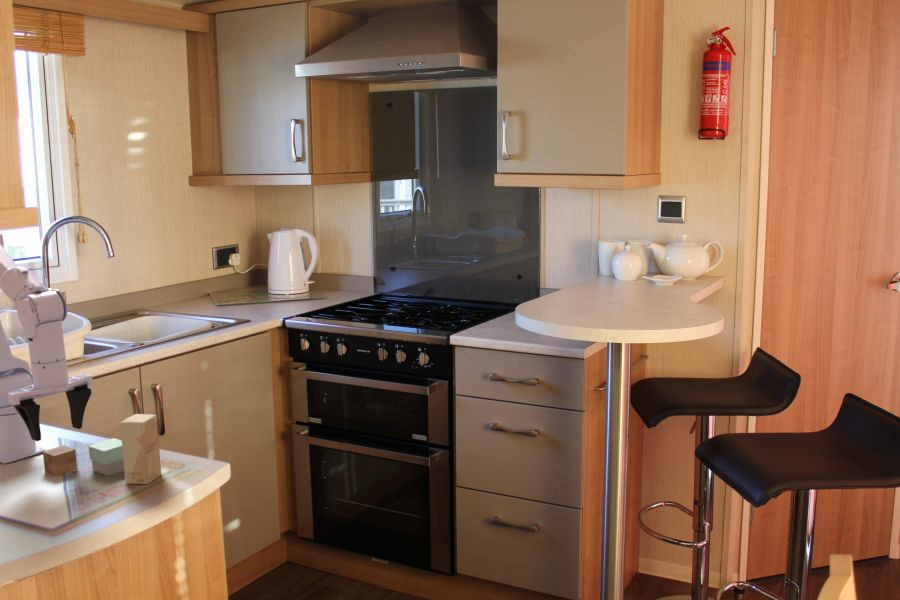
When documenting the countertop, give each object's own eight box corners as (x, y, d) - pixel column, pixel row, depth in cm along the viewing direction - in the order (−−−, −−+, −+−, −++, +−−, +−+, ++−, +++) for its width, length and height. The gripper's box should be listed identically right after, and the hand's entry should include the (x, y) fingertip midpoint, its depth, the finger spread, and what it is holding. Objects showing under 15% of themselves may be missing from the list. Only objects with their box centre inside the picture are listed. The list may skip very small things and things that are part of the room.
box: (147, 485, 153) (141, 423, 151) (124, 483, 154) (118, 422, 152) (162, 473, 158) (157, 413, 156) (140, 472, 159) (134, 412, 157)
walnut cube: (45, 472, 161) (42, 451, 160) (66, 466, 164) (63, 445, 163) (56, 477, 158) (53, 456, 157) (77, 470, 161) (75, 449, 160)
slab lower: (93, 472, 161) (91, 458, 160) (118, 463, 165) (116, 450, 164) (108, 478, 158) (106, 464, 157) (133, 469, 162) (132, 456, 161)
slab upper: (89, 459, 160) (88, 446, 160) (115, 450, 164) (113, 438, 164) (105, 464, 157) (103, 451, 157) (130, 456, 161) (129, 443, 161)
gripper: (18, 372, 149) (28, 449, 152) (98, 353, 160) (106, 426, 163) (-2, 366, 153) (8, 442, 156) (78, 349, 165) (86, 419, 167)
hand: (57, 433), depth 160 cm, fingers open, 7 cm apart
